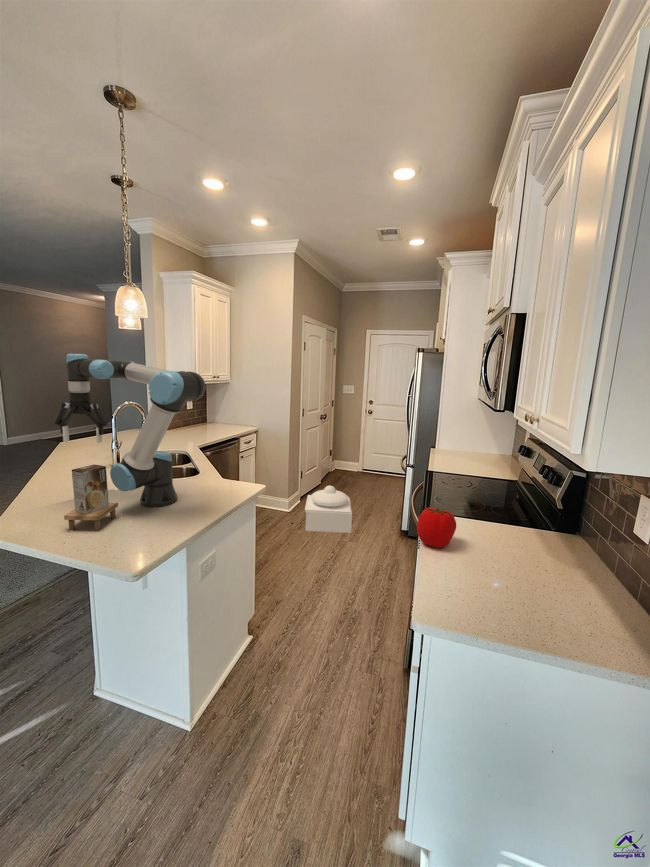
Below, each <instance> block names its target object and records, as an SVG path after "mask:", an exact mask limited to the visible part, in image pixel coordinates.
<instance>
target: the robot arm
mask: <svg viewBox="0 0 650 867" xmlns="http://www.w3.org/2000/svg"><path fill="white" fill-rule="evenodd" d="M65 364H66V372H67V385H68V386H67V387H68V391H69V393H68V400H69V402H62V403H61V408H60V410H59V413H58V415H57V417H56V420H55V421H54V424H55V425H56V426H59V428H60V434H61V435H62V440H63V443H67V442H70V434H69V433H70V432H69V431H70V430H69V425H67V424H68V423H69V422H70V421H71V420H72V419H73V417H74V416H75V415H86V416H88V418H89V419H90V420H91V421H92V422H93V423H94V425H96V426H97V427H95V430H96V431H95V433H96V443H97V444H99V443H102V442H103V435H104V433H105V432H104V427H106V426H109V423H108V421H107V419H106V417H105V415H104V414H103V413H102V412H103V411H102V410H101V409H100V405H99V403H92V402H91V401H92V399H91V398H92V397H91V392H90V391H91V382H90V381H91V380H90V379H98V380H107V379H122V380H129V381H133V382H137V383H141V384H145V385H148V390H149V391H148V393H149V397H150V398H149V400H150V402H151V406H150V409H149V411H148V413H147V415H146V416H145V419H144V421H143V424H142V425H141V428H140V430H139V432H138V435H137V437H136V439H135V441H134V443H133V445H132V447H131V450H130V451H127V452H125V453H124V455H123V457H122V458H121V461H120V462H117V463H115V464H113V465H112V466H111V468H110V471H109V475H110V479H111V482H112V484H113V486H114V487H115V488H116V489H118V490H119V491H121V492H130V491H134V490H136V489H139V488H142V487H143V490H142V493H141V496H140V500H139V503H140V506H142V507H145V508H164V507H168V506H172V505H173V504H175V503H177V502H178V494H177V492H176V490H175V487H174V485H173V477H174V476H173V463H174V462H173V456H172V454H171V453H170V452H168V451H158V450H159V447H160V445H161V443H162V441H163V438H164V437H165V435H166V433H167V430H168V429H169V426H170V424H171V422H172V420H173V418H174V416H175V415H176V414H178V413H181V412H182V410H183V408H184V406H185V404H186V403H187V402H188V403H190V402H194V401H195V402H196V401H197V400H199V399H201V398H202V397H203V395H204V394H205V391H206V388H207V387H206V386H207V385H206V382H205V380H204V378H203V377H202V376H201V375H200V374H199V373H197V372H194V371H185V370H180V371H174V370H167V369H164V368H158V367H154V366H149V365H145V364H140V363H135V362H134V361H131V360H115V359H114V360H113V359H111V360H110V359H93V358H92V359H91V358H90V359H89V356H88V355H87V354H84V353H68V354H67V355H66V363H65ZM68 409H70V411H68ZM91 409H92V410H91ZM94 413H95V414H94ZM66 414H67V415H66Z"/></svg>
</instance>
